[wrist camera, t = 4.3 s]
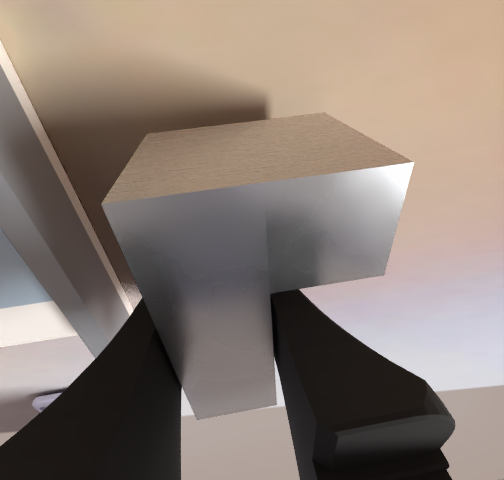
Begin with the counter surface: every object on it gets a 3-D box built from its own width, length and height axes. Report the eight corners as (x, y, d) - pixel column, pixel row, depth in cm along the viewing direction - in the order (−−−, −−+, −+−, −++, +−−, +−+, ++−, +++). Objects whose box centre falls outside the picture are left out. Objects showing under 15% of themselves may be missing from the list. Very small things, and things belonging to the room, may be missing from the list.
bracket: (312, 295, 15) (353, 390, 11) (199, 313, 14) (197, 420, 10) (324, 112, 10) (414, 162, 5) (146, 133, 9) (101, 204, 5)
